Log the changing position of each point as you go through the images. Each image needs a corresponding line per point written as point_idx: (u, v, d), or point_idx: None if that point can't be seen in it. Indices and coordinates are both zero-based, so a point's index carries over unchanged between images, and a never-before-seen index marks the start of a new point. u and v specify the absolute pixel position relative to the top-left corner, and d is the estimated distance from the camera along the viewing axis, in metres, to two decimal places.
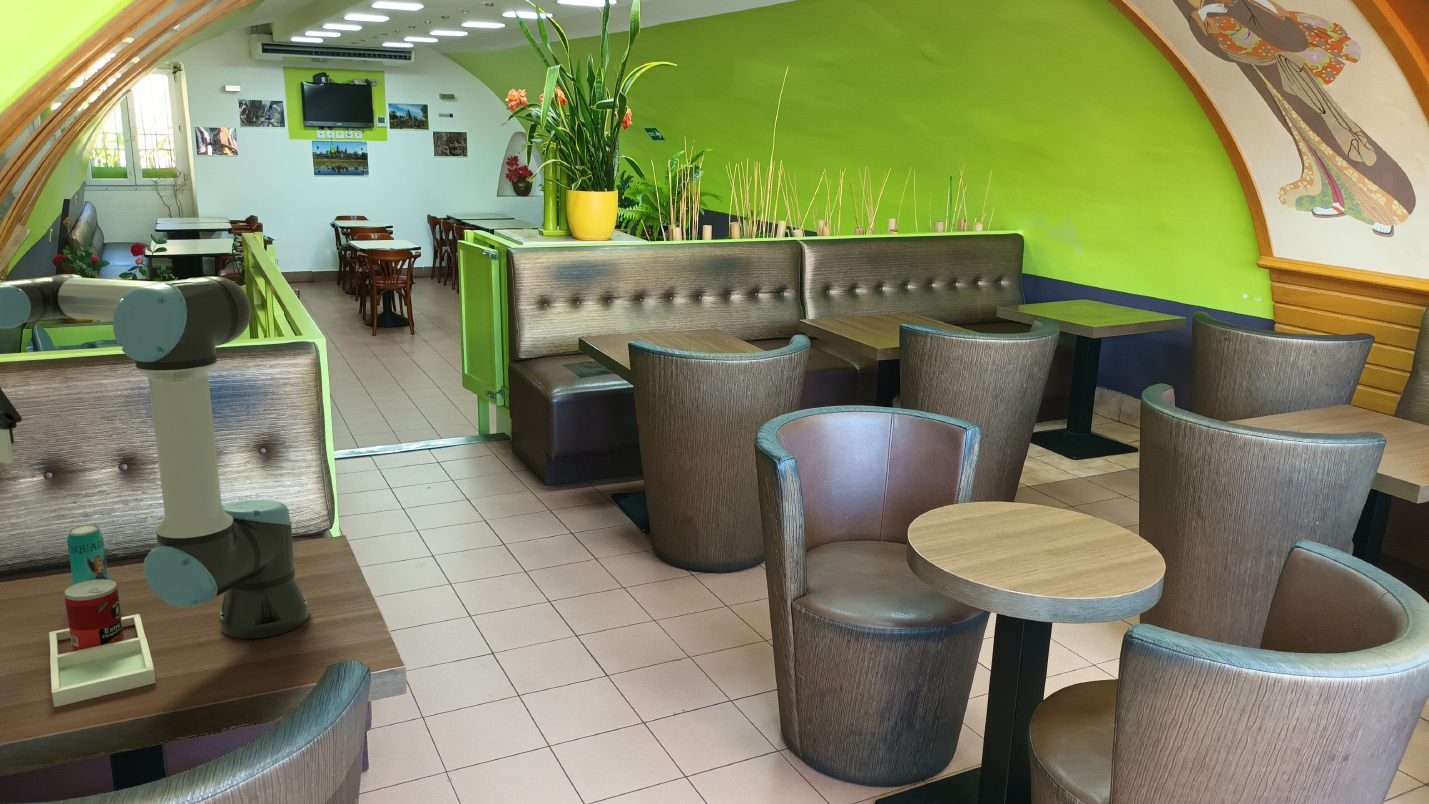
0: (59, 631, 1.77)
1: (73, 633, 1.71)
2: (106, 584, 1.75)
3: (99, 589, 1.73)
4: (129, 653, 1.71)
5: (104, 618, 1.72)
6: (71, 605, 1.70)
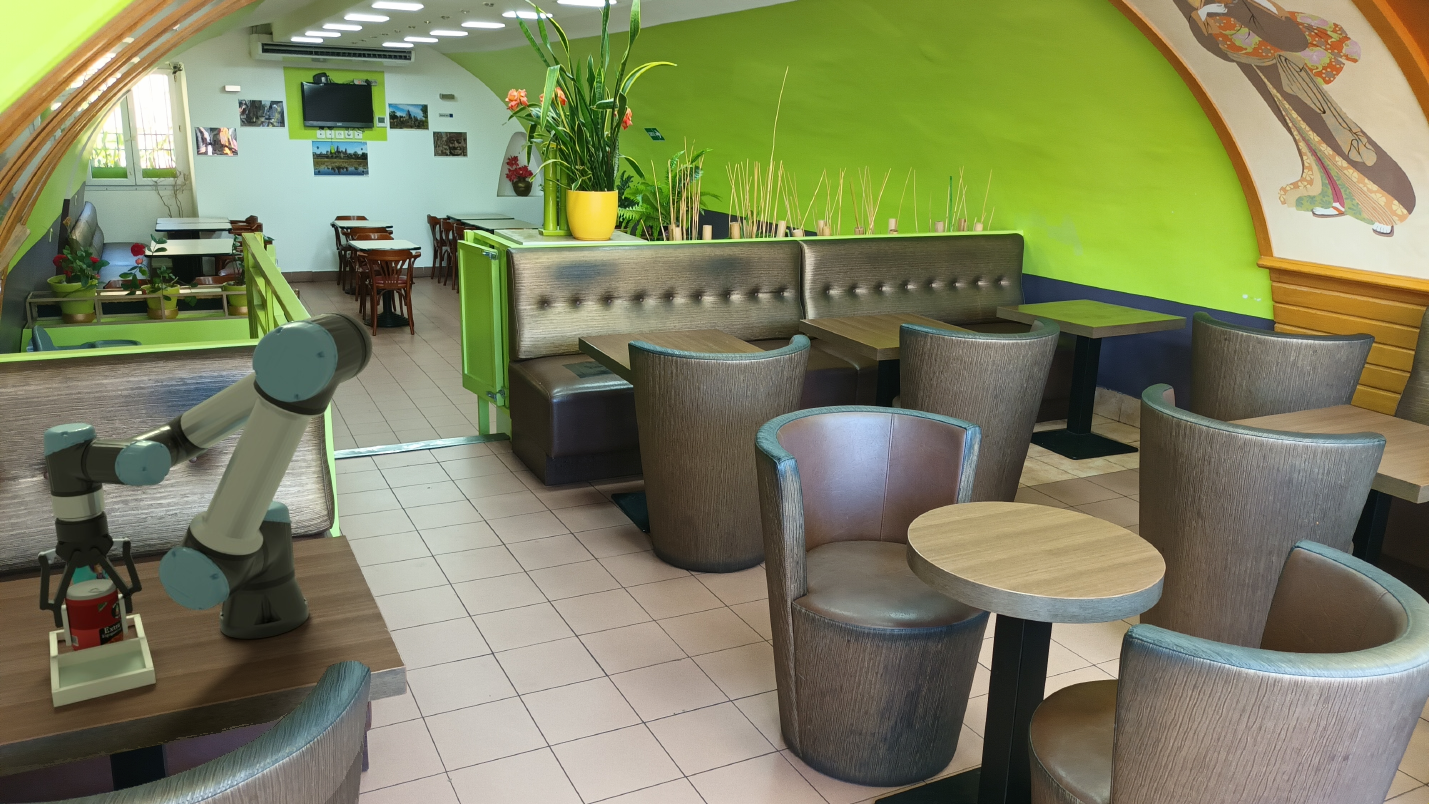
0: (59, 631, 1.77)
1: (73, 633, 1.71)
2: (106, 584, 1.75)
3: (99, 589, 1.73)
4: (129, 653, 1.71)
5: (104, 618, 1.72)
6: (71, 605, 1.70)
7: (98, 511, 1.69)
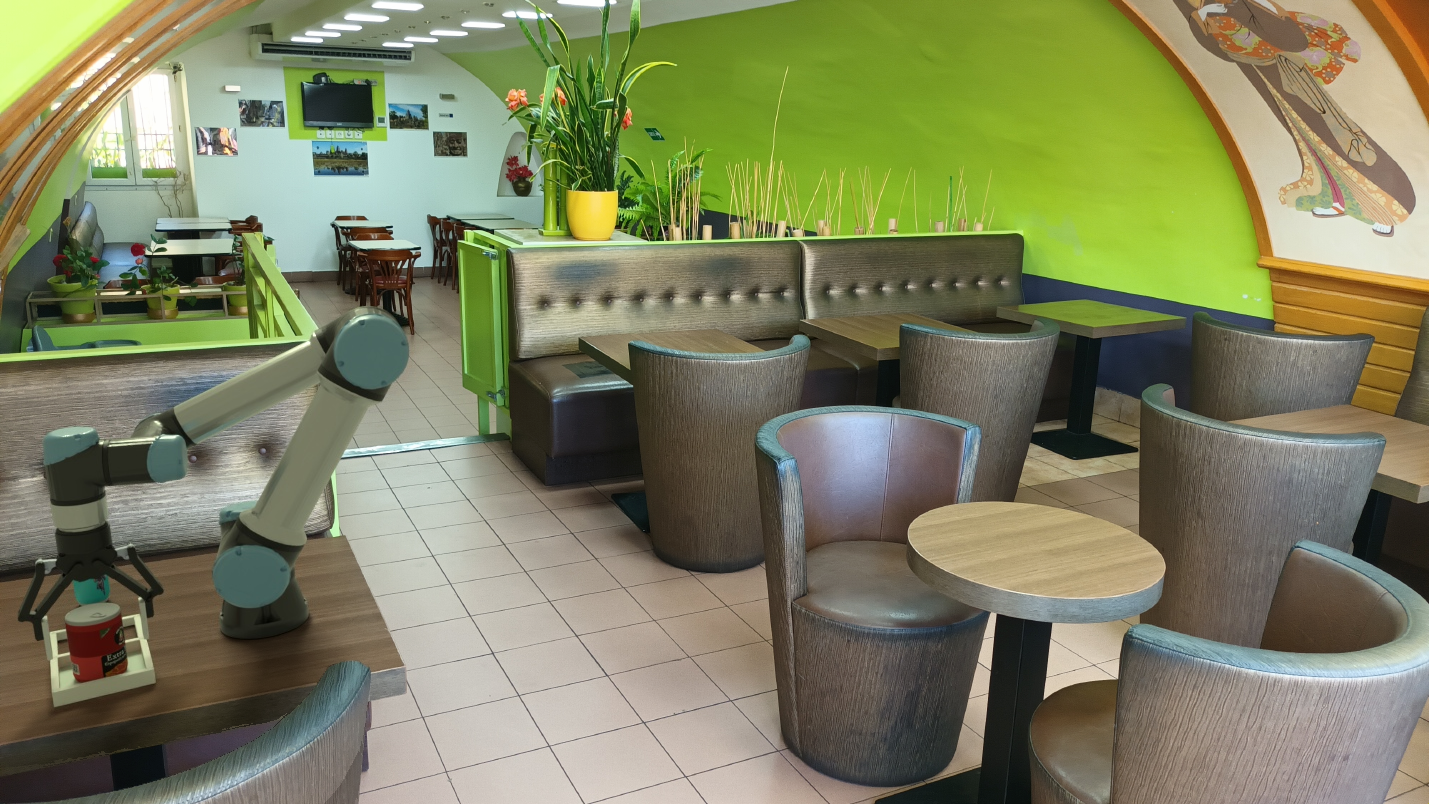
0: (59, 631, 1.77)
1: (74, 661, 1.60)
2: (109, 608, 1.64)
3: (101, 613, 1.62)
4: (129, 653, 1.71)
5: (106, 645, 1.61)
6: (72, 631, 1.59)
7: (101, 521, 1.58)
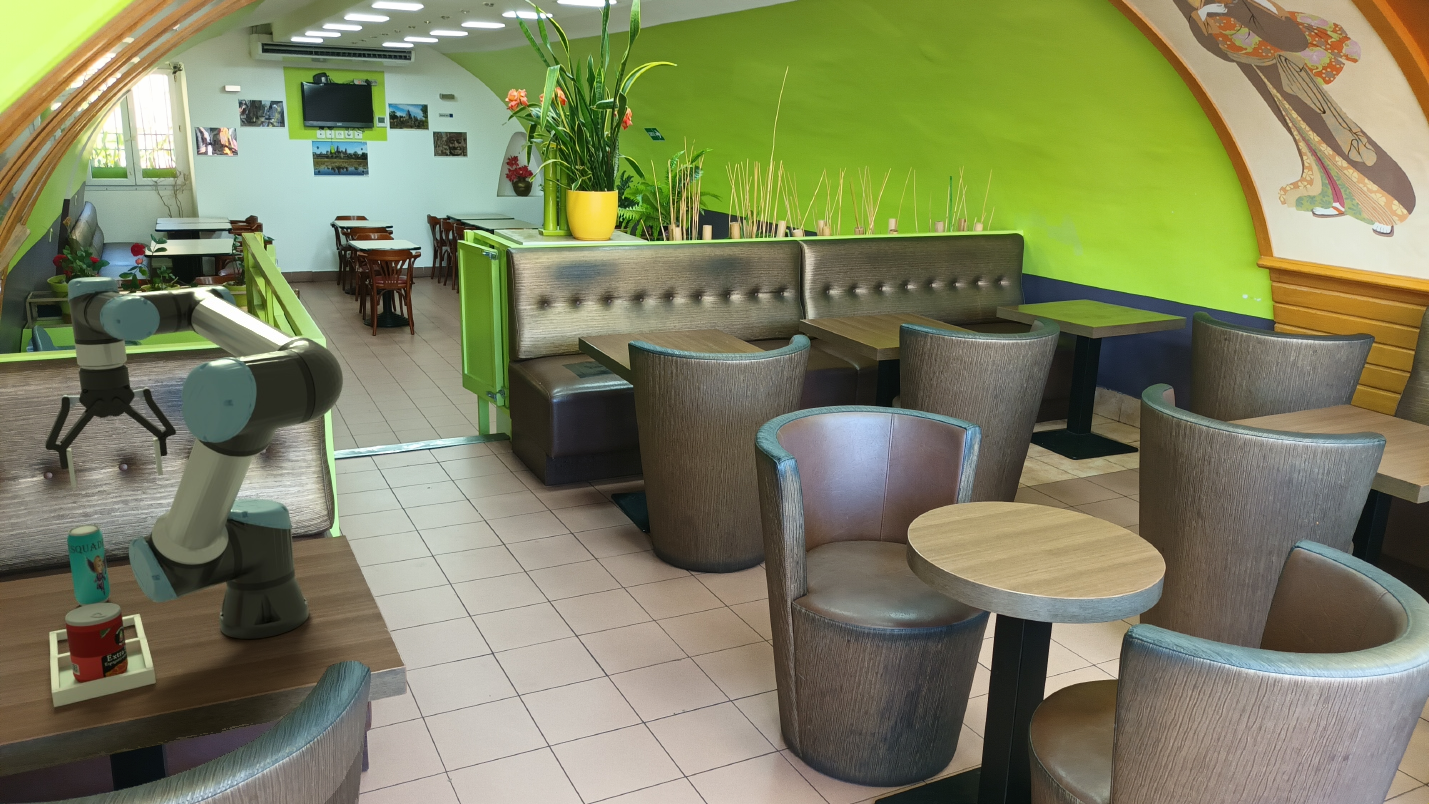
0: (59, 631, 1.77)
1: (74, 661, 1.60)
2: (110, 608, 1.64)
3: (102, 614, 1.62)
4: (129, 653, 1.71)
5: (107, 645, 1.61)
6: (72, 631, 1.59)
7: (120, 361, 1.75)
